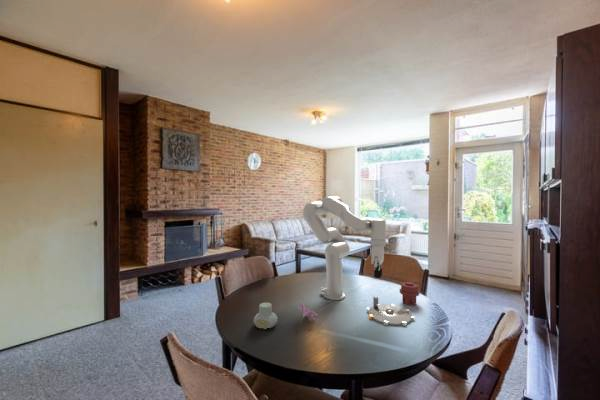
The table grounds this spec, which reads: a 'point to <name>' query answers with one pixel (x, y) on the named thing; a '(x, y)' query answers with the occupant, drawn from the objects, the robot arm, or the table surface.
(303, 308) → the lily
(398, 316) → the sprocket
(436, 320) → the table surface
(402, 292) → the mechanical component
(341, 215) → the robot arm
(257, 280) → the table surface
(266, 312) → the air freshener
